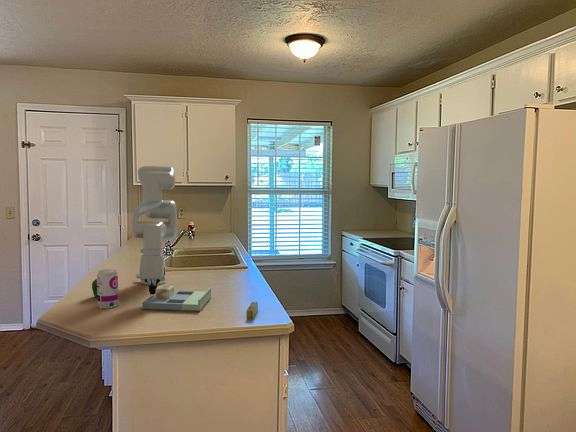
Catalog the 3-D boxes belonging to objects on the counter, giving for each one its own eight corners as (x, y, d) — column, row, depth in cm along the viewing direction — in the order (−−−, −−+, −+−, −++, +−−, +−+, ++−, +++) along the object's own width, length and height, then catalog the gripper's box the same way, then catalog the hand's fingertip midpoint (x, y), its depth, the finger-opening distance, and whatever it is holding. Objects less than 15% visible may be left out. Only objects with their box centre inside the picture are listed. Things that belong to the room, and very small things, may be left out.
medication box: (251, 310, 181) (251, 301, 181) (258, 311, 181) (258, 301, 181) (246, 320, 170) (246, 310, 169) (253, 320, 169) (253, 310, 169)
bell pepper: (87, 298, 194) (87, 276, 193) (101, 293, 202) (101, 272, 201) (102, 300, 191) (101, 278, 190) (116, 295, 199) (115, 274, 198)
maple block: (155, 298, 186) (155, 289, 185) (160, 294, 192) (160, 285, 191) (169, 298, 185) (169, 289, 185) (173, 294, 191) (173, 285, 191)
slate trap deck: (142, 309, 179) (142, 297, 179) (159, 296, 199) (159, 285, 199) (199, 311, 178) (199, 299, 178) (211, 298, 198) (211, 287, 197)
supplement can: (122, 304, 186) (122, 270, 184) (108, 310, 178) (108, 274, 177) (107, 302, 188) (106, 268, 187) (93, 307, 181) (92, 272, 179)
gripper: (132, 253, 184) (132, 295, 185) (166, 254, 183) (166, 296, 185) (139, 250, 191) (139, 291, 193) (172, 251, 190) (172, 292, 192)
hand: (153, 293), depth 189 cm, fingers closed
